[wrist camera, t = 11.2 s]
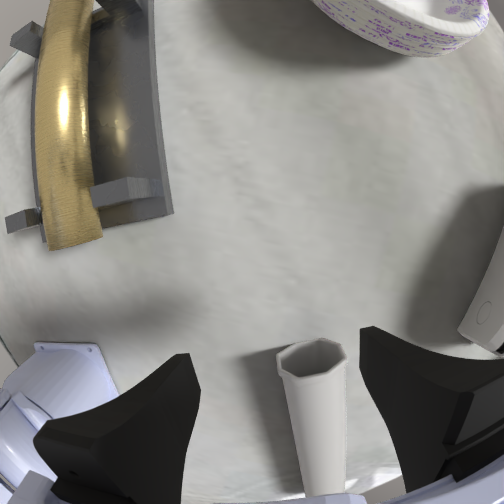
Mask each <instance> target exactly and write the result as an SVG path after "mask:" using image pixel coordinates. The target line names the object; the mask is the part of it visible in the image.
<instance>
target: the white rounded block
mask: <svg viewBox="0 0 504 504" xmlns="http://www.w3.org/2000/svg"><path fill="white" fill-rule="evenodd" d="M457 331H458V332H459V333H460V334H461V335H462V336H463V337H465V338H467V339H469V340H470V341H472V342H474V343H475V344H477V345H479V346H481V347H483V348H484V349H486V350H488V351H490V352H492V353H494V354H495V355H497V356H499V357H503V358H504V226H503V229H502V232H501V235H500V238H499V241H498V243H497V246H496V249H495V251H494V254H493V256H492V259H491V261H490V264H489V266H488V268H487V271H486V273H485V275H484V278H483V280H482V282H481V284H480V286H479V289H478V291H477V293H476V295H475V297H474V299H473V301H472V303H471V305H470V307H469V309H468V311H467V312H466V314H465V316H464V318H463V320H462V322H461V323H460V325H459V327H458V329H457Z"/></svg>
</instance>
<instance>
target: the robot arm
mask: <svg viewBox="0 0 504 504" xmlns="http://www.w3.org/2000/svg"><path fill="white" fill-rule="evenodd" d="M34 348H35V351H36V353H34V354H33V355H32V356H31V357H30V358H29V359H27V360H26V361H25V362H24V363H23V364H22V365H20V366H19V367H18V368H17V369H16V370H15V371H13V372H12V373H11V374H10V375H9V376H8V377H7V378H6V380H5V381H4V384H3V387H2V388H0V474H1V475H2V476H4V478H5V479H7V480H8V481H9V482H10V483H11V484H12V485H13V486H14V487H15V488H16V490H15V491H14V490H13V489H12V488H11V487H10V486H8V485H7V484H6V483H5V482H4V481H3V480H2V479H1V478H0V504H181V491H182V480H183V471H184V464H185V457H186V452H187V448H188V444H189V441H190V437H191V434H192V431H193V427H194V424H195V420H196V417H197V413H198V409H199V403H200V394H201V389H200V386H199V382H198V379H197V376H196V373H195V370H194V367H193V364H192V360H191V357H190V354H189V353H185V354H176V355H174V356H173V357H171V358H170V359H169V360H167V361H166V362H165V363H164V364H163V365H161V366H160V367H159V368H158V369H156V370H155V371H154V372H153V373H151V374H150V375H149V376H148V377H146V378H145V379H144V380H142V381H141V382H140V383H138V384H137V385H135V386H134V387H133V388H131V389H130V390H128V391H127V392H125V393H123V394H122V395H119V393H118V391H117V389H116V387H115V385H114V382H113V380H112V378H111V376H110V373H109V371H108V369H107V366H106V364H105V361H104V359H103V356H102V354H101V351H100V349H99V347H98V346H97V345H96V344H78V343H46V342H35V343H34ZM90 348H91V350H90ZM359 368H360V371H361V374H362V377H363V380H364V382H365V385H366V387H367V389H368V391H369V393H370V395H371V397H372V399H373V400H374V402H375V404H376V406H377V408H378V410H379V412H380V414H381V415H382V417H383V419H384V421H385V423H386V425H387V428H388V430H389V433H390V436H391V438H392V441H393V444H394V447H395V450H396V454H397V457H398V460H399V464H400V467H401V471H402V475H403V479H404V483H405V488H406V493H407V494H405V495H401V496H399V497H396V498H393V499H390V500H387V501H384V502H381V503H377V504H504V359H498V360H476V359H465V358H458V357H452V356H448V355H443V354H440V353H436V352H432V351H429V350H426V349H423V348H421V347H418V346H416V345H413V344H411V343H409V342H406V341H404V340H402V339H400V338H398V337H396V336H394V335H392V334H390V333H388V332H386V331H384V330H381V329H379V328H377V327H375V326H370V327H366V328H361V329H360V362H359ZM215 504H367V502H366V500H365V498H364V496H361V495H357V494H351V493H346V492H344V493H335V494H324V495H319V496H313V497H306V498H299V499H291V500H282V501H271V502H256V503H215Z"/></svg>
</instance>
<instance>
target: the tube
mask: <svg viewBox="0 0 504 504" xmlns="http://www.w3.org/2000/svg"><path fill="white" fill-rule="evenodd" d="M276 362H277V371H278V375H279V376H281V377H282V379H283V384H284V389H285V394H286V399H287V404H288V409H289V414H290V419H291V424H292V429H293V435H294V440H295V445H296V450H297V455H298V460H299V465H300V470H301V475H302V481H303V486H304V491H305V496H306V497H313V496H319V495H324V494H335V493H344V492H345V475H346V437H347V420H346V380H345V366H346V365H347V364H348V358H347V356H346V354H345V352H344V350H343V348H342V346H341V344H339V343H336V342H333V341H330V340H327V339H325V338H319V339H314V340H309V341H304V342H299V343H294V344H292V345H290V346H289V347H287V348H286V349H284V350H282V351H281V352H279V353H277V354H276Z"/></svg>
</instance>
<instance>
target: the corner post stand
mask: <svg viewBox="0 0 504 504" xmlns="http://www.w3.org/2000/svg"><path fill="white" fill-rule="evenodd" d="M96 1H97V2H98V3H99V4H100V5H101V8H99V9H97V10H95V11H92V20H91V29H90V41H89V58H88V118H89V136H90V149H91V159H92V169H93V177H94V185H95V186H93V187H90V193H91V199H92V206H93V208H97V207H98V211H99V217H100V223H101V228H107V227H111V226H116V225H121V224H126V223H131V222H136V221H141V220H146V219H151V218H156V217H161V216H167V215H170V214H174V211H173V205H172V198H171V192H170V186H169V179H168V172H167V165H166V158H165V150H164V142H163V134H162V125H161V116H160V106H159V95H158V84H157V70H156V55H155V34H154V0H96ZM43 31H44V28H43V27H41V26H40V25H38V24H36V23H35V22H33V21H31V22H30V23H28V24H27V25H26V26H24V27H23V28H21V29H20V30H19V31H17V32H16V33H15V34H13V36H12V38H11V43H10V46H12V47H14V48H16V49H18V50H20V51H22V52H25V53H27V54H29V55H31V56H33V57H35V58H36V59H35V67H34V77H33V88H32V106H31V149H32V167H33V179H34V189H35V197H36V205H37V208H33V209H26V210H23V211H20V212H17V213H15V214H12V215H10V216H7V217H5V221H6V227H7V233H8V234H9V233H13V232H17V231H21V230H25V229H29V228H33V227H38V226H40V230H41V235H42V240H43V242H47V240H46V235H45V229H44V224H43V218H42V211H41V205H40V197H39V189H38V179H37V168H36V152H35V98H36V83H37V72H38V63H39V55H40V48H41V42H42V36H43Z"/></svg>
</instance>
